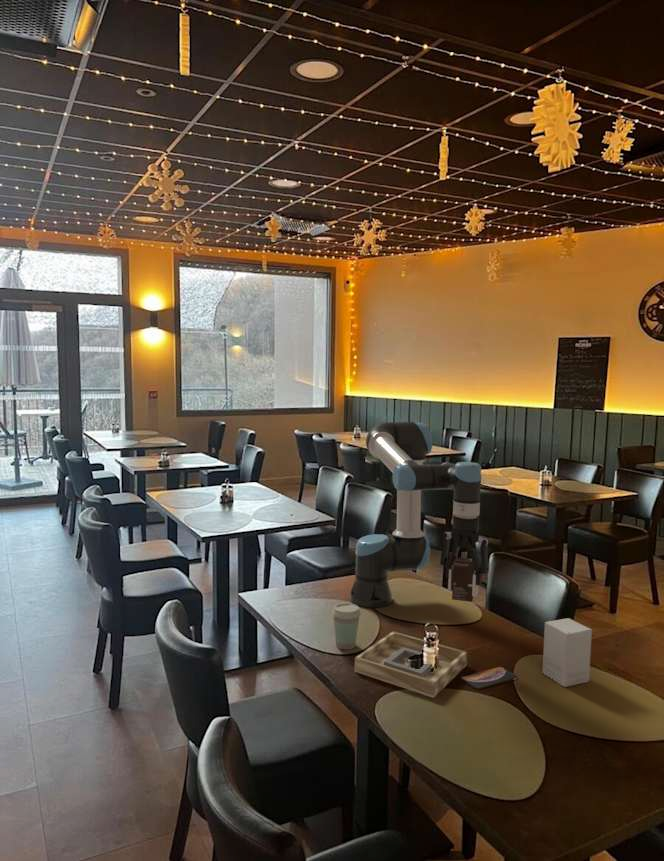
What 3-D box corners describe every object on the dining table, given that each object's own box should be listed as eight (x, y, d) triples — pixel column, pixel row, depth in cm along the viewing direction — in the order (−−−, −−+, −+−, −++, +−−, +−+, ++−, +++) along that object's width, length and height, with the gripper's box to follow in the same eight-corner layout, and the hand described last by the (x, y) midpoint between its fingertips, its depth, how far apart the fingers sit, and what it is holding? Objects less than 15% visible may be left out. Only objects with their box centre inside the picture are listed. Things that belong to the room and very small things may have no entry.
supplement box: (590, 682, 174) (593, 629, 172) (564, 688, 170) (567, 634, 169) (566, 667, 182) (569, 617, 181) (541, 672, 179) (544, 621, 177)
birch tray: (392, 643, 196) (392, 631, 195) (466, 665, 182) (467, 652, 182) (354, 671, 178) (354, 657, 177) (433, 697, 164) (434, 683, 164)
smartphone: (458, 676, 175) (500, 665, 182) (458, 679, 175) (500, 668, 182) (477, 689, 168) (519, 676, 175) (477, 692, 168) (519, 679, 175)
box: (451, 600, 187) (453, 560, 185) (453, 595, 191) (454, 556, 190) (472, 603, 185) (474, 562, 184) (474, 597, 189) (475, 558, 188)
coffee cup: (360, 640, 198) (361, 602, 197) (358, 652, 189) (359, 613, 188) (333, 638, 199) (333, 601, 197) (330, 650, 190) (330, 612, 189)
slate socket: (402, 653, 188) (402, 647, 188) (438, 664, 181) (438, 657, 181) (383, 668, 178) (383, 661, 178) (420, 680, 172) (420, 673, 172)
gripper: (429, 513, 188) (426, 588, 190) (494, 523, 177) (490, 603, 179) (440, 508, 194) (437, 582, 196) (503, 518, 183) (499, 595, 185)
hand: (463, 592), depth 188 cm, fingers closed on box, 7 cm apart
